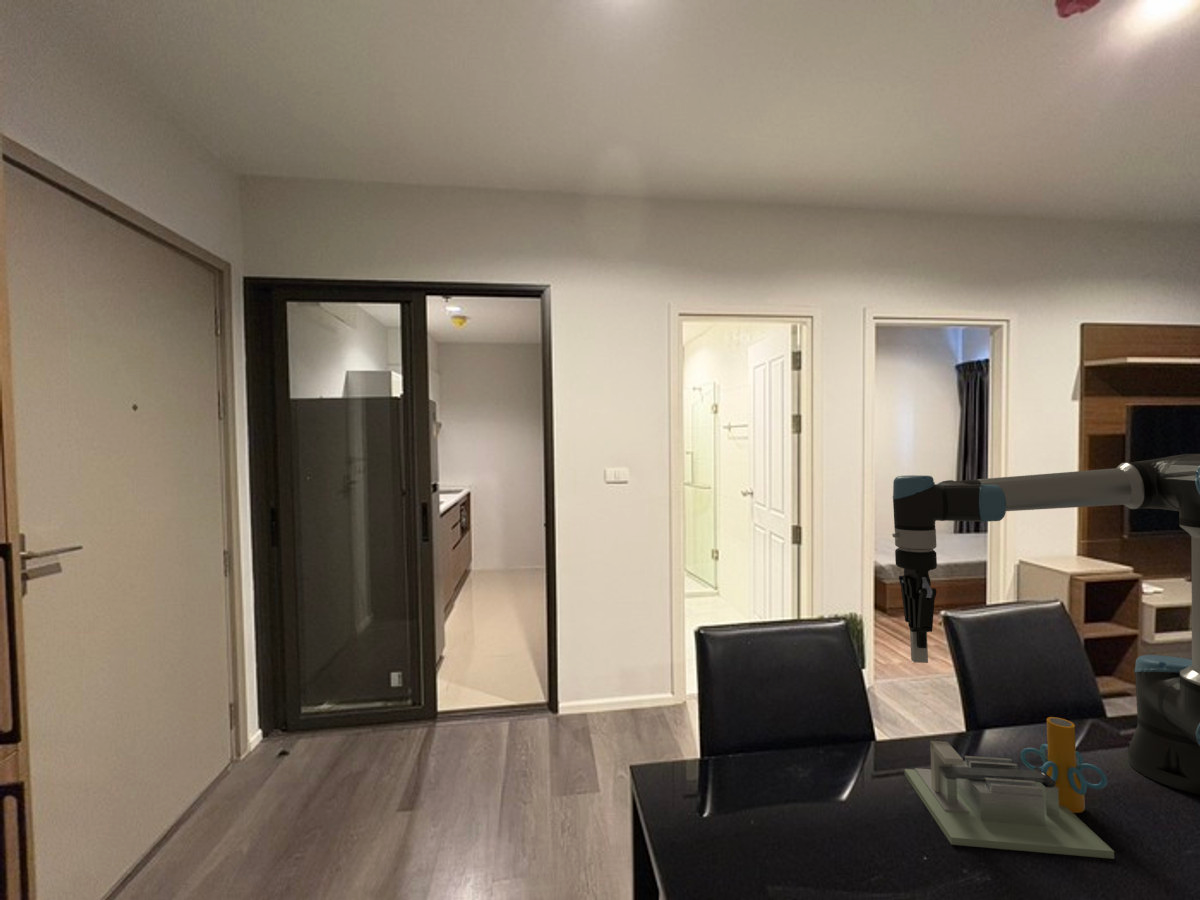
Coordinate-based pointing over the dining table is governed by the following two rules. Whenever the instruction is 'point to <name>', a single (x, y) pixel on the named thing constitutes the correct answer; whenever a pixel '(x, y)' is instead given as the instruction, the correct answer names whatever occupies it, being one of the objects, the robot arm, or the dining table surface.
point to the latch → (941, 760)
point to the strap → (996, 774)
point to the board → (1007, 826)
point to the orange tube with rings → (1065, 764)
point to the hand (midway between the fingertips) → (919, 661)
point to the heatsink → (1002, 795)
